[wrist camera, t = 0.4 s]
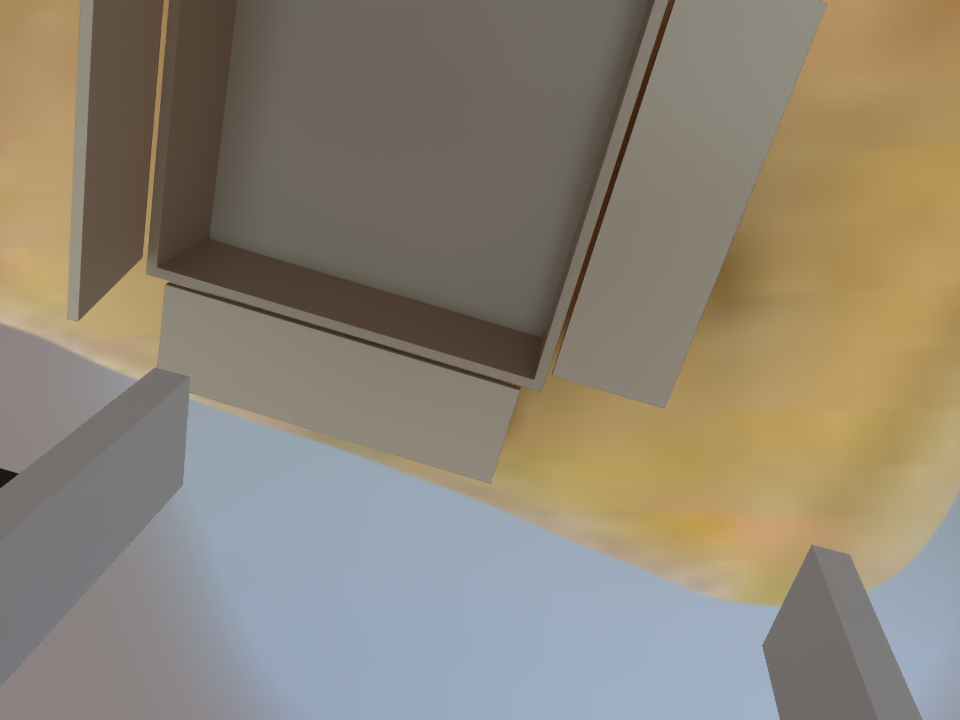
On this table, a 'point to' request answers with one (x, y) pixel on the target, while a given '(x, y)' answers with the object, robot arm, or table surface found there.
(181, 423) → the robot arm
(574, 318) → the carton
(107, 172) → the flap
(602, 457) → the table surface
